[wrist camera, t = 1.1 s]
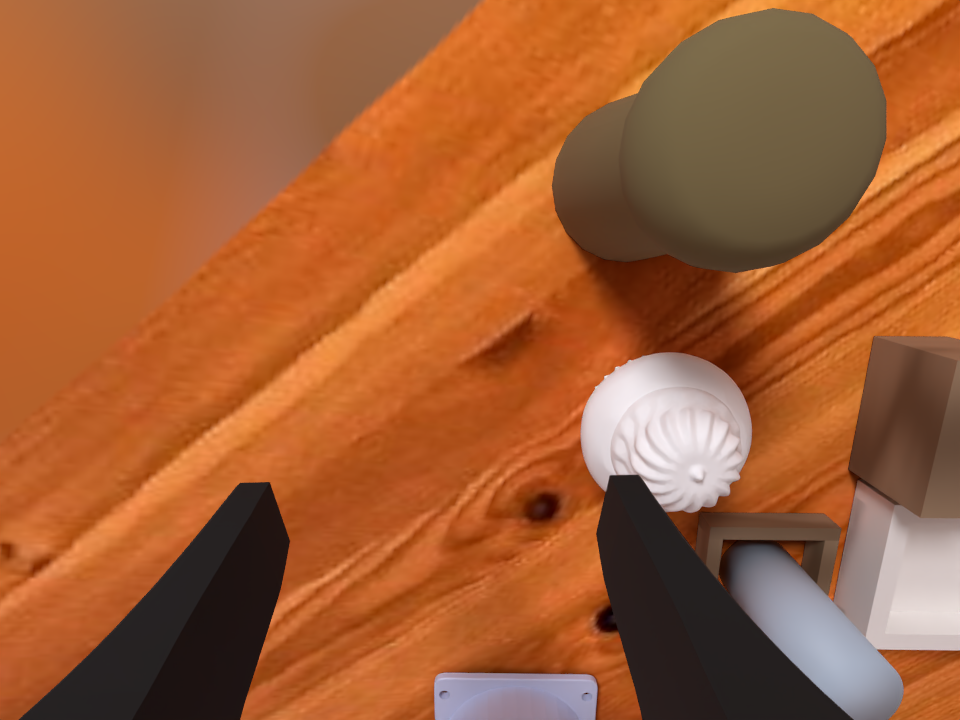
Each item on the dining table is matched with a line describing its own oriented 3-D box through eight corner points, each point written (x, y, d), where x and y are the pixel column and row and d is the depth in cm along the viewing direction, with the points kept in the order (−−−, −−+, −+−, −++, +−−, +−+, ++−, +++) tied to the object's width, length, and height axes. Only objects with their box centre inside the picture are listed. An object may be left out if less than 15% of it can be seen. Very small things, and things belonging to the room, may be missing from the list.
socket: (804, 618, 25) (820, 637, 24) (687, 616, 25) (697, 635, 24) (824, 513, 24) (841, 528, 23) (699, 512, 24) (710, 527, 23)
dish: (979, 614, 25) (1024, 651, 23) (830, 613, 25) (862, 649, 23) (1016, 480, 23) (1070, 506, 21) (857, 479, 23) (894, 504, 21)
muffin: (541, 435, 23) (564, 522, 16) (607, 309, 22) (662, 347, 15) (665, 489, 24) (737, 595, 17) (737, 369, 22) (847, 433, 16)
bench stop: (916, 469, 23) (1002, 518, 19) (848, 469, 23) (920, 518, 19) (947, 336, 22) (1046, 361, 18) (874, 336, 22) (957, 360, 18)
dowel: (783, 596, 25) (892, 734, 18) (715, 595, 25) (800, 733, 18) (793, 536, 24) (912, 658, 17) (723, 535, 24) (814, 657, 17)
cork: (741, 161, 20) (1024, 91, 10) (642, 291, 21) (794, 357, 11) (616, 63, 19) (774, -132, 9) (521, 204, 21) (557, 184, 10)
